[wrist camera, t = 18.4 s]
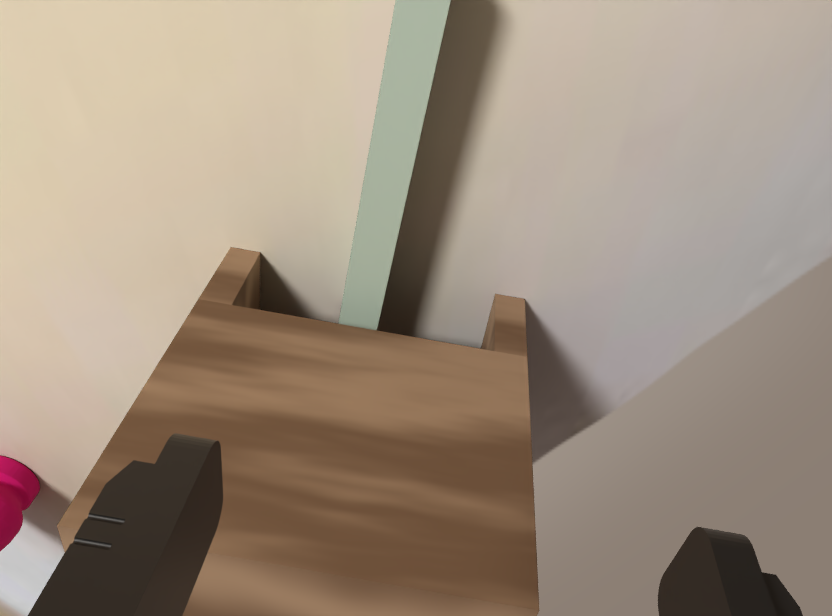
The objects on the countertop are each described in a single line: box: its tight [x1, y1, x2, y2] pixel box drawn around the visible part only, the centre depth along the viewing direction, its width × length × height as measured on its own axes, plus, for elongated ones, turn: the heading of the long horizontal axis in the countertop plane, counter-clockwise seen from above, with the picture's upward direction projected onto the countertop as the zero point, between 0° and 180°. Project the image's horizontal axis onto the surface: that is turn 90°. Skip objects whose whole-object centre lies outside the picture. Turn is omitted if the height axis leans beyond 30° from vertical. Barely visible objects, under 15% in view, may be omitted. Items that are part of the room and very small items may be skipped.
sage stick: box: [338, 0, 451, 330], centre depth 39 cm, size 23×2×4 cm, turn 168°
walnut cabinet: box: [57, 247, 539, 616], centre depth 40 cm, size 12×20×22 cm, turn 81°
